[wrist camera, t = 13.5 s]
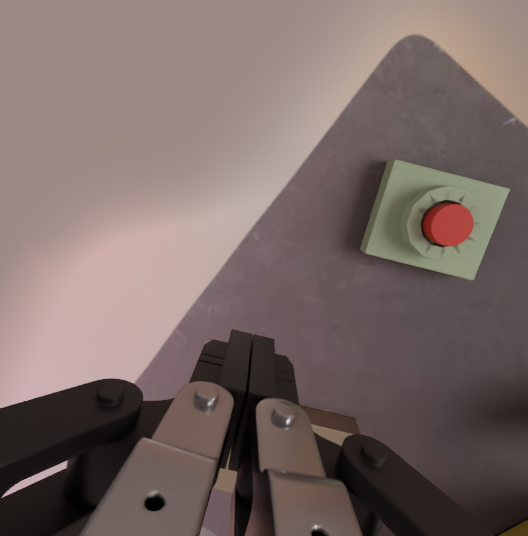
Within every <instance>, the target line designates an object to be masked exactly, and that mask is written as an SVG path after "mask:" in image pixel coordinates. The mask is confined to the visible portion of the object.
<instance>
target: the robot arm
mask: <svg viewBox="0 0 528 536" xmlns="http://www.w3.org/2000/svg"><path fill="white" fill-rule="evenodd" d="M251 340H252V341H251ZM295 382H296V381H295V376H294V368H293V365H292V363H291V362H290V361H289V359H288V358H287V357H286V356H282V355H278V354H275V347H274V339H271V338H267V337H263V336H259V335H253V337H252V334H250V333H246V332H242V331H237V330H233V329H232V330H231V334H230V338H229V342H228V343H227V342H222V341H218V340H214V339H213V340H211V341H210V342H208V343H207V344H205V345H204V347H203V350H202V352H201V354H200V357H199V359H198V362H197V364H196V367H195V369H194V372H193V374H192V377H191V379H190V382H189V383H188V384H186V385H184V386H183V387H182V388H181V389H180V390H179V392H178V393H177V395H176V397H175V398H172V399H168V400H162V401H143V393H142V391H141V390H140V389H139V387H137V386H136V385H135V384H133V383H131V382H128V381H125V380H121V379H102V380H97V381H93V382H90V383H87V384H83V385H79V386H76V387H73V388H69V389H66V390H63V391H59V392H55V393H52V394H49V395H45V396H42V397H38V398H35V399H31V400H28V401H24V402H21V403H18V404H14V405H11V406H7V407H4V408H0V536H199V535H200V531H201V527H202V524H203V520H204V517H205V513H206V509H207V506H208V502H209V499H210V495H211V491H212V488H213V486H214V485H215V483H216V482H217V478H218V474H219V471H220V468H222V469H226V465H227V461H228V457H229V454H230V458H229V465H228V470H232V471H237V477H236V483H235V486H234V490H233V493H232V497H231V516H230V536H378V535H379V533H380V530H381V528H382V525H383V523H384V524H385V525H386V526H387V527H388V528H389V529H390V530H391V531H392V532H393V533H394V534H395V535H396V536H495V535H494V534H493V533H491V532H490V531H489V530H488V529H487V528H485V527H484V526H483V525H482V524H480V523H479V522H478V521H477V520H476V519H474V518H473V517H472V516H471V515H470V514H468V513H467V512H466V511H465V510H464V509H462V508H461V507H460V506H459V505H457V504H456V503H455V502H454V501H453V500H451V499H450V498H449V497H448V496H447V495H445V494H444V493H443V492H442V491H441V490H439V489H438V488H437V487H436V486H434V485H433V484H432V483H431V482H430V481H428V480H427V479H426V478H425V477H424V476H422V475H421V474H420V473H419V472H418V471H416V470H415V469H414V468H413V467H411V466H410V465H409V464H408V463H407V462H405V461H404V460H403V459H402V458H401V457H399V456H398V455H397V454H396V453H395V452H393V451H392V450H391V449H390V448H388V447H387V446H386V445H384V444H383V443H381V442H380V441H378V440H376V439H374V438H371V437H369V436H365V435H360V434H354V435H349V436H347V437H346V438H345V439H344V441H343V443H342V446H340V445H338V444H336V443H334V442H332V441H329V440H327V439H325V438H323V437H321V436H320V435H318V434H316V433H315V432H314V431H313V429H312V425H311V422H310V419H309V417H308V415H307V413H306V412H305V411H304V410H303V409H302V408H301V407H299V402H298V395H297V388H296V384H295ZM230 450H231V451H230ZM67 460H68V462H67V468H66V469H64V470H61V471H59V472H57V473H55V474H53V475H51V476H49V477H46V478H44V479H42V480H40V481H38V482H36V483H33V484H31V485H29V486H27V487H25V488H23V489H20V490H18V491H16V492H14V493H12V494H10V495H7V496H5V497H3V498H1V497H2V496H3V495H4V494H5V493H6V492H7V491H8V490H9V489H10V488H11V487H12V486H14V485H15V484H17V483H18V482H20V481H22V480H24V479H26V478H29V477H31V476H33V475H35V474H38V473H40V472H42V471H44V470H46V469H49V468H51V467H53V466H55V465H58V464H60V463H62V462H64V461H67Z"/></svg>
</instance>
